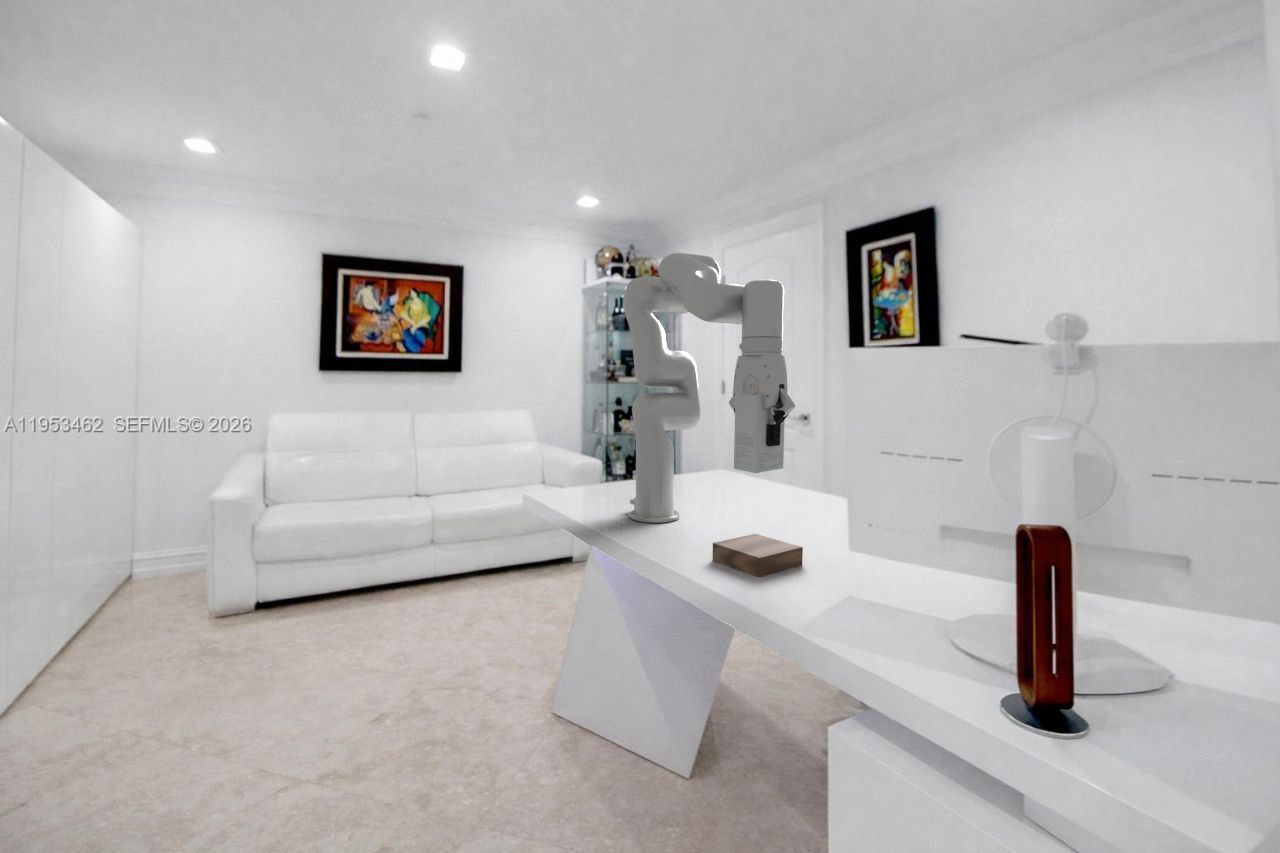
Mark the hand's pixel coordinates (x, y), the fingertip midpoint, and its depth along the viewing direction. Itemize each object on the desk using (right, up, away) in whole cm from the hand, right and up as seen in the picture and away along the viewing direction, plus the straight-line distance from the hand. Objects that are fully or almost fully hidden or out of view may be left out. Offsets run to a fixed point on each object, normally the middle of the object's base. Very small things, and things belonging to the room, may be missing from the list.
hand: (759, 443), depth 114 cm
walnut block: (0, -23, +2) cm, 23 cm away
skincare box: (0, -5, 0) cm, 5 cm away
